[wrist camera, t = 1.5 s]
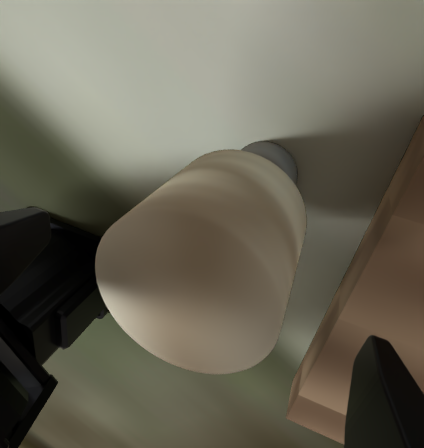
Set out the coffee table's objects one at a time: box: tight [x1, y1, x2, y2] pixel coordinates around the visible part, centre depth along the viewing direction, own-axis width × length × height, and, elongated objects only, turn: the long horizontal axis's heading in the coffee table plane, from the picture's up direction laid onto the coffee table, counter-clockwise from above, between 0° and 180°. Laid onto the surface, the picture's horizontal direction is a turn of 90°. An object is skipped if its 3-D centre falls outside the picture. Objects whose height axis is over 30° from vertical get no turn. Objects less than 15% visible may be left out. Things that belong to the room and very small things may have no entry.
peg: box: [95, 141, 307, 374], centre depth 12 cm, size 5×5×9 cm
